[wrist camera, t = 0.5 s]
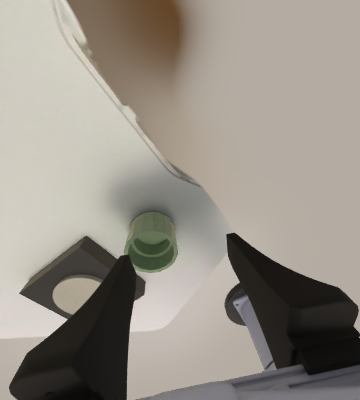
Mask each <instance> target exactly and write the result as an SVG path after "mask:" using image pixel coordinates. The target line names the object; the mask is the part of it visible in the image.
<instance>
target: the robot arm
mask: <svg viewBox="0 0 360 400" xmlns="http://www.w3.org/2000/svg"><path fill="white" fill-rule="evenodd" d="M226 236H227V249H228V257H229V260H230V262H231V265H232V267H233V270H234V272H235V273H236V275H237V277H238V279H239V281H240V283H241V285H242V287H243V289H244V291H245V292H246V294H247V295H244V296H242V297H240V298H237V299H235V300H233V304H234V306H235V308H236V309H237V311H238V313H239V314H240V316H241V318H242V319H243V321H244V323H245V324H246V326H247V328H248V330H249V333H250V335H251V338H252V340H253V342H254V345H255V347H256V350H257V352H258V355H259V357H260V360H261V362H262V365H263V367H264V370H265V371H263V372H262V373H258V374H254V375H249V376H244V377H239V378H235V379H230V380H225V381H217V382H209V383H205V384H200V385H195V386H190V387H186V388H181V389H176V390H172V391H167V392H163V393H160V394H157V395H154V396H151V397H146V398H141V399H136V400H360V338H359V337H360V333H359V332H358V331H357V330H356V329H355V328H354V323H355V321H356V318H357V316H358V312H359V310H358V306H357V305H356V304H355V303H354V302H353V301H352V300H351V299H350V298H349V297H348V296H347V295H346V294H345V293H344V292H343V291H342V290H341V289H340V288H338V287H335V286H332V285H328V284H326V283H323V282H319V281H317V280H314V279H311V278H309V277H306V276H304V275H301V274H299V273H297V272H294V271H292V270H290V269H288V268H286V267H284V266H282V265H280V264H279V263H277V262H275V261H273V260H271V259H270V258H268V257H267V256H265V255H264V254H262V253H261V252H259V251H258V250H256V249H255V248H254V247H252V246H251V245H250V244H248V243H247V242H246V241H244V240H243V239H242V238H241V237H239V236H238V235H237V234H236V233H231V234H226ZM135 291H136V272H135V269H134V267H133V264H132V261H131V259H130V256H129V254H127V255H122V256H120V257H119V259H118V260H117V261H116V263H115V264H114V266H113V267H112V269H111V270H110V272H109V273H108V274H107V276H106V277H105V279H104V280H103V281H102V283H101V284H100V285H99V287H98V288H97V289H96V290H95V292H94V293H93V294H92V295H91V296H90V298H89V299H88V300H87V301H86V302H85V303H84V304H83V305H82V306H81V307H80V308H79V309H78V310H77V311H76V312H75V313H74V314H73V315H72V316H71V317H70V318H69V319H68V320H67V321H66V322H65V323H64V324H63V325H62V326H60V327H59V328H58V329H57V330H56V331H55V332H53V333H52V334H51V335H50V336H49V337H48V338H46V339H45V340H44V341H42V342H41V343H40V344H39V345H37V346H36V347H35V348H33V349H32V350H31V351H29V352H28V353H27V355H26V356H25V358H24V360H23V362H22V364H21V366H20V367H19V369H18V371H17V372H16V374H15V376H14V378H13V380H12V382H11V384H10V386H9V390H10V393H11V394H12V395H13V396H14V397H15V398H16V399H17V400H126V399H127V362H128V344H129V330H130V321H131V315H132V309H133V303H134V297H135Z"/></svg>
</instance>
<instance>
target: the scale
mask: <svg viewBox="0 0 360 400" xmlns="http://www.w3.org/2000/svg"><path fill="white" fill-rule="evenodd" d="M116 261H117V259H116V258H114V257H113V256H112V255H110V254H109V253H108V252H107V251H105V250H104V249H103V248H101V247H100V246H99V245H97V244H96V243H95V242H94V241H92V240H91V239H90V238H88V237H87V236H86V237H84V238H83V239H82V240H80V241H79V242H78V243H76V244H75V245H74V246H73V247H71V248H70V249H69V250H67V251H66V252H65V253H64V254H62V255H61V256H60V257H58V258H57V259H56V260H55V261H53V262H52V263H51V264H49V265H48V266H47V267H45V268H44V269H43V270H42V271H40V272H39V273H38V274H36V275H35V276H34V277H33V278H31V279H30V280H29V281H28V283H27V284H26V285H25V286H24V288H23V289H22V290H21V292H20V293H19V294H21V295H23V296H25V297H27V298H29V299H31V300H32V301H34V302H36V303H38V304H40V305H42V306H44V307H46V308H48V309H49V310H51V311H53V312H55V313H57V314H59V315H61V316H63V317H65V318H67V319H69V318H70V317H71V316H72V315H73V314H74V313H75V312H76V311H77V310H78V309H79V308H80V307H81V306H82V305H83V304H84V303H85V302H86V301H87V300H88V299H89V298H90V296H91V295H92V294H93V293H94V292H95V290H96V289H97V288H98V287H99V285H100V284H101V283H102V281H103V280H104V279H105V277H106V276H107V274H108V273H109V272H110V270H111V269H112V267H113V266H114V264H115V263H116ZM144 293H145V281H144V280H143V279H141V278H140V277H139V276H137V275H136V291H135V297H134V301H135V300H137V299H138V298H140V297H141V296H143V295H144Z"/></svg>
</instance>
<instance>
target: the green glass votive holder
mask: <svg viewBox="0 0 360 400" xmlns="http://www.w3.org/2000/svg"><path fill="white" fill-rule="evenodd" d="M127 254H129V256H130V259H131V261H132V264H133V267H134V268H135V269H137V270H139V271H141V272H148V273H153V272H160V271H162V270H164V269H166V268H168V267H170V266H171V265H172V264H173V263H174V262H175V260H176V257H177V255H178V249H177V241H176V233H175V226H174V224H173V222H172V221H171V219H170V218H169V217H167V216H166V215H164V214H162V213H158V212H148V213H143V214H141V215H139V216H137V217H136V218H135V219H134V220H133V222H132V223H131V226H130V230H129V234H128V237H127V241H126V245H125V249H124V255H127Z"/></svg>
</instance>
